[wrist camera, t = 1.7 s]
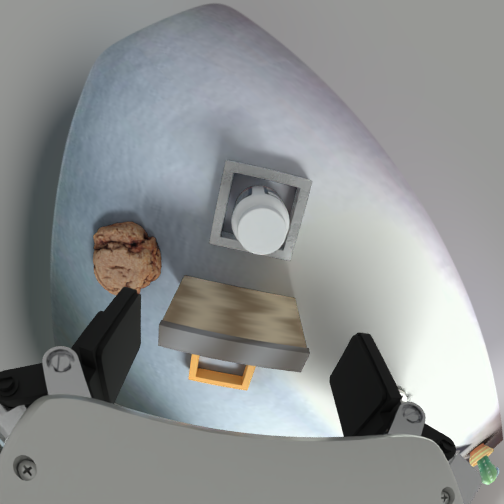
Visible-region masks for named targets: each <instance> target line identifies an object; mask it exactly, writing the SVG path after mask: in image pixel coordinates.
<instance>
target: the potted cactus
mask: <svg viewBox="0 0 504 504" xmlns="http://www.w3.org/2000/svg"><path fill="white" fill-rule="evenodd" d="M493 451H494V449H493V448H490V447H488V446H486V445H484V443H483V444H481V445H479V446H478V447H476V448H475V449H474V450H473V451H472V452H471V453H470V459H469V462H470V465H472V466H473V467H474V466H475V465H477V464H478V467H479V469H480V475H481V478H482V483H484V484H487V485H489V484H490V483H492V482H493V481H495V479H496V477H497V476H498V474H499V469H498V467H497V468H495V466H494V465H493V464H491V462H490V460H489V458H488V456H489V455H490V454H491V453H492V452H493Z"/></svg>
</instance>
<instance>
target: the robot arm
mask: <svg viewBox="0 0 504 504" xmlns="http://www.w3.org/2000/svg"><path fill="white" fill-rule="evenodd" d="M140 344H141V295H140V294H137V290H136V289H132V288H128V287H123V288H122V289H121V290H120V292H119V293H118V294H117V295H116V297H115V298H114V299H113V301H112V302H111V303H110V304H109V306H108V307H107V308H106V310H105V311H104V312H103V311H99V312H98V313H97V315H96V316H95V317H94V318H93V320H92V321H91V322H90V324H89V325H88V326H87V328H86V329H85V330H84V332H83V333H82V334H81V336H80V337H79V338H78V340H77V341H76V342H75V344H74V345H73V346H72V348H71V349H70V348H68V347H64V346H57V347H54V348H51V349H50V350H48V351H47V352H46V353H45V354H44V356H43V362H42V363H40V364H35V365H30V366H25V367H20V368H16V369H10V370H5V371H2V372H0V504H470V503H471V501H472V500H473V498H474V496H475V495H476V493H477V491H478V489H479V487H480V486H481V483H482V478H481V475H480V474H479V472H478V471H477V470H476V469H474V467H473V466H472V465H470V464H469V463H468V462H467V461H466V460H465V459H464V458H463V457H462V456H461V455H460V454H459V453H458V454H455V452H456V448H455V445H454V442H453V441H452V440H451V439H450V438H449V437H447V436H445V435H444V434H442V433H440V432H438V431H437V430H435V429H433V428H432V427H430V426H428V425H427V424H425V413H424V411H423V410H422V408H421V407H420V406H418V405H417V404H415V403H413V402H407V396H406V394H405V392H404V391H402V390H400V389H398V388H397V386H396V383H395V381H394V379H393V377H392V375H391V373H390V371H389V369H388V367H387V365H386V363H385V361H384V359H383V357H382V356H381V354H380V352H379V350H378V348H377V346H376V344H375V342H374V340H373V338H372V337H371V335H370V334H366V333H357V334H356V335H354V336H353V337H352V338H351V340H350V342H349V344H348V346H347V348H346V349H345V351H344V353H343V355H342V357H341V358H340V360H339V362H338V364H337V366H336V367H335V369H334V371H333V372H332V374H331V376H330V385H331V389H332V393H333V396H334V400H335V404H336V408H337V412H338V415H339V419H340V423H341V427H342V431H343V435H344V437H286V436H270V435H259V434H249V433H241V432H233V431H226V430H220V429H213V428H208V427H202V426H197V425H192V424H187V423H182V422H178V421H174V420H169V419H165V418H161V417H157V416H154V415H150V414H146V413H142V412H139V411H135V410H132V409H129V408H125V407H122V406H119V405H115V404H114V403H115V401H116V398H117V396H118V394H119V392H120V389H121V387H122V385H123V383H124V380H125V378H126V376H127V374H128V372H129V370H130V367H131V365H132V363H133V361H134V359H135V357H136V355H137V353H138V351H139V348H140ZM7 437H8V439H7V441H6V443H5V440H6V438H7ZM4 443H5V445H4Z"/></svg>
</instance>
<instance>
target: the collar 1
mask: <svg viewBox="0 0 504 504" xmlns="http://www.w3.org/2000/svg"><path fill="white" fill-rule="evenodd" d="M198 362H199V355H194V354H192V356H191V363H190V371H189V380H193V381H198V382H203V383H208V384H213V385H218V386H223V387H229V388H235V389H241V390H248V387H249V384H250V381H251V378H252V376H253V373H254V370H255V367H256V366H251V365H246V367H245V370H244V373H243V376H238V375H233V374H227V373H222V372H216V371H211V370H206V369H202V368H198Z"/></svg>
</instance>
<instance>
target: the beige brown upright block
mask: <svg viewBox="0 0 504 504" xmlns="http://www.w3.org/2000/svg"><path fill="white" fill-rule="evenodd" d="M158 346H162V347H165V348H169V349H173V350H177V351H181V352H186V353H190V354H194V355H199V356H203V357H208V358H213V359H218V360H223V361H228V362H234V363H239V364H245V365H251V366H258V367H264V368H271V369H279V370H287V371H295V372H301V371H302V369H303V367H304V365H305V362H306V360H307V358H308V356H309V354H310V352H309V348H307V346H306V342H305V338H304V334H303V329H302V325H301V321H300V317H299V313H298V309H297V304H296V300H295V298H292V297H287V296H282V295H276V294H271V293H266V292H261V291H256V290H251V289H246V288H241V287H236V286H232V285H227V284H222V283H218V282H213V281H208V280H204V279H199V278H195V277H190V276H186V275H184V277H183V279H182V281H181V283H180V285H179V287H178V289H177V291H176V293H175V295H174V297H173V299H172V301H171V303H170V306H169V308H168V310H167V312H166V314H165V316H164V318H163V320H161V322H160V324H159V340H158Z"/></svg>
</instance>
